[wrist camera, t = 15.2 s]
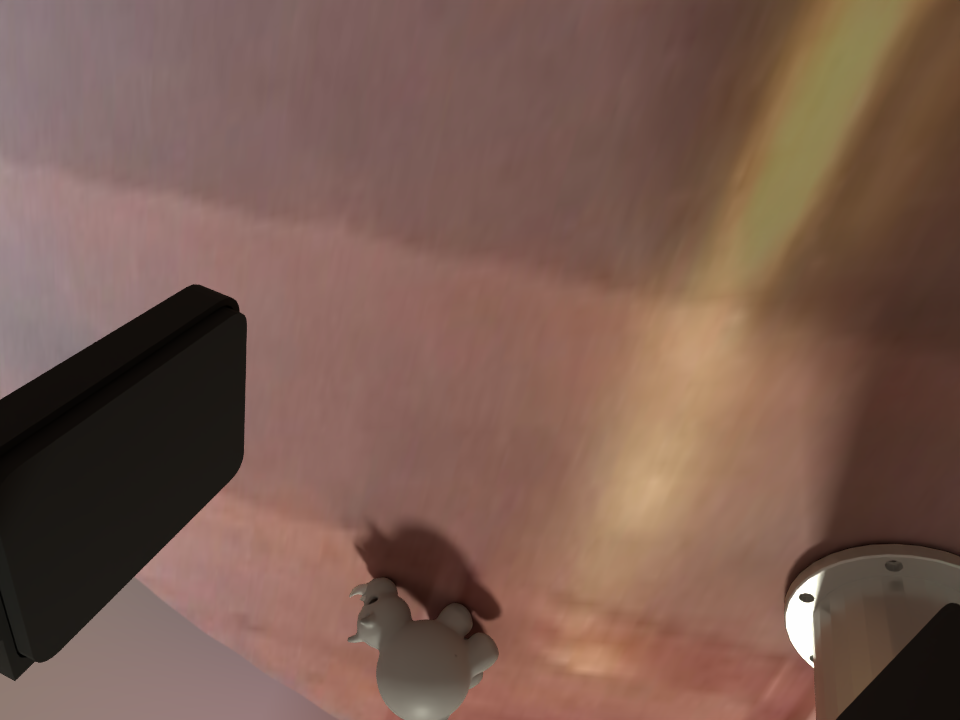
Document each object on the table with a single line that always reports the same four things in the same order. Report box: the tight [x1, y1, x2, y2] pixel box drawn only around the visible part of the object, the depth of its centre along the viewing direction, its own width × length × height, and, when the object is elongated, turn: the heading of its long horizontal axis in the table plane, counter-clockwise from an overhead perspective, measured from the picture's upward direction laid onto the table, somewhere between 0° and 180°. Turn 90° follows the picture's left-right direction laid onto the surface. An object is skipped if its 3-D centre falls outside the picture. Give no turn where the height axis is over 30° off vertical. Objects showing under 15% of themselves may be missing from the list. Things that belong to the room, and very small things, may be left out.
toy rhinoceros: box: [348, 577, 499, 720], centre depth 55 cm, size 7×12×8 cm, turn 66°
